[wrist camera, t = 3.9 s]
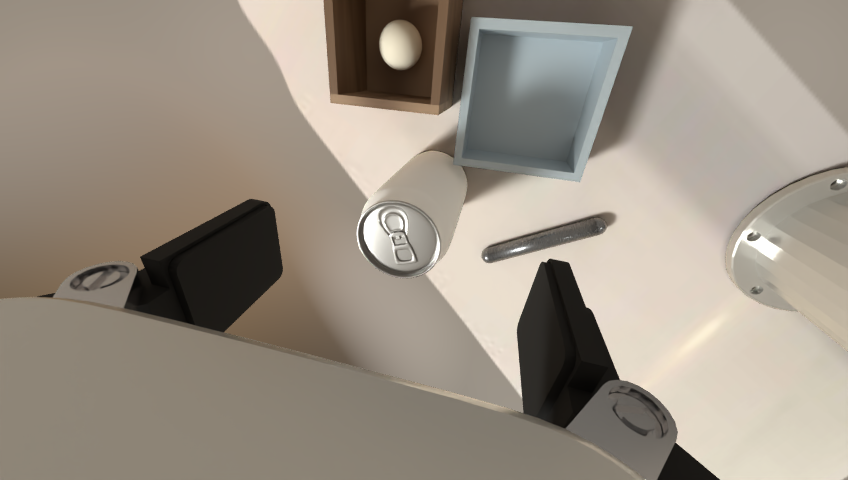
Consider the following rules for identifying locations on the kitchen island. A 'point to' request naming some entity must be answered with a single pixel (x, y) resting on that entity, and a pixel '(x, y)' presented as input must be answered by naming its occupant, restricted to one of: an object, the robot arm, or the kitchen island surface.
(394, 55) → the cream ball
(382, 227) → the can
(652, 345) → the kitchen island surface
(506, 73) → the light blue tray
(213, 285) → the robot arm
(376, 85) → the walnut box
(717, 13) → the kitchen island surface
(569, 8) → the kitchen island surface
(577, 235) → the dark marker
